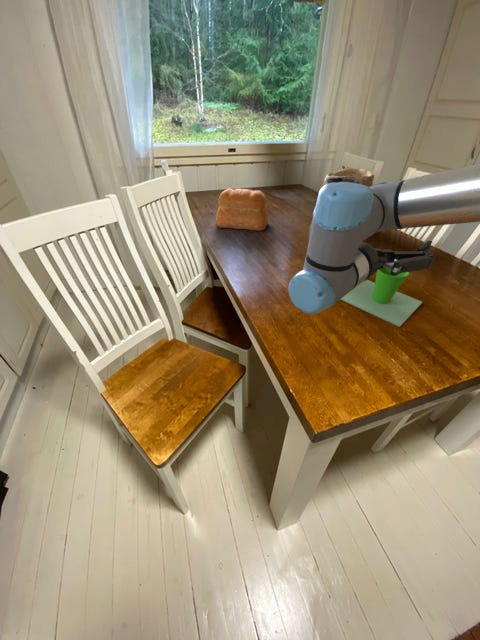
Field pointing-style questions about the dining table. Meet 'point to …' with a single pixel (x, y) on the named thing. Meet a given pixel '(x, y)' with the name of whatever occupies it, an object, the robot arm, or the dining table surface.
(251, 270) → the dining table surface
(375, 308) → the cloth
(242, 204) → the bread
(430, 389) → the dining table surface
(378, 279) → the cup
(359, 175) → the tan flared vase
